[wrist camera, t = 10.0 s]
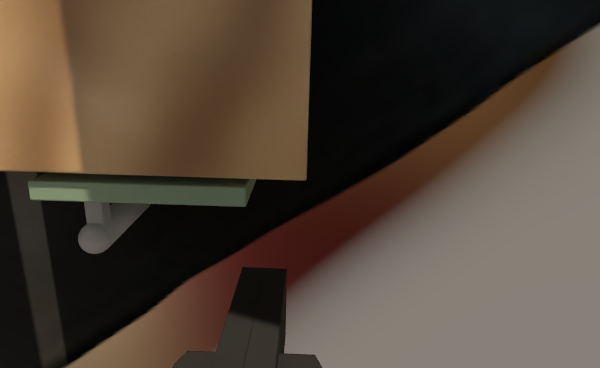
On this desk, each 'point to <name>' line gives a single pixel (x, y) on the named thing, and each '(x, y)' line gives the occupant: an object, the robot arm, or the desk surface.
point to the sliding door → (132, 198)
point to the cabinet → (156, 87)
